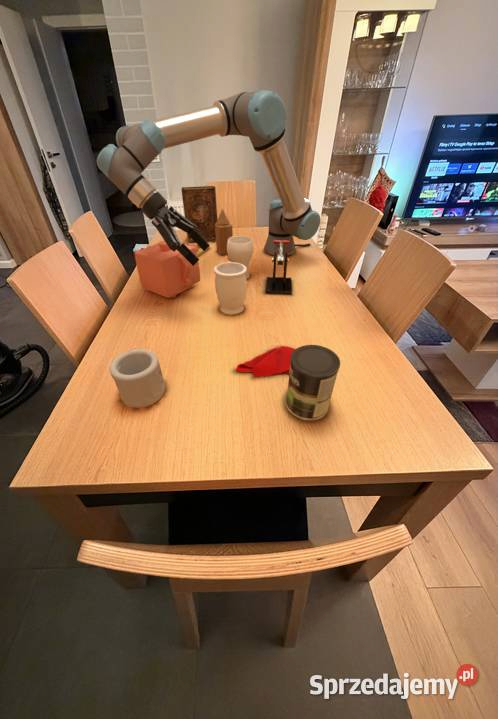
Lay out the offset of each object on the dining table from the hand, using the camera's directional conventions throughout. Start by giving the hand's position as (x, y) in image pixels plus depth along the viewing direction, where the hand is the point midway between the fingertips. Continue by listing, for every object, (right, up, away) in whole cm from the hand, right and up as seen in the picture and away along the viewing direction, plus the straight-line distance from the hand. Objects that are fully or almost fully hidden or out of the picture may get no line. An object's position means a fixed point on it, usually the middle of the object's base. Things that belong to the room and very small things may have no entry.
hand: (202, 255), depth 96 cm
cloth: (+25, -35, -12) cm, 44 cm away
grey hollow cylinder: (-12, -41, -20) cm, 47 cm away
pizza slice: (-13, +17, +48) cm, 53 cm away
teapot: (-13, -4, +24) cm, 28 cm away
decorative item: (+3, +19, +51) cm, 54 cm away
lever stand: (+27, -5, +22) cm, 35 cm away
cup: (+12, +2, +30) cm, 32 cm away
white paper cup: (+9, -16, +10) cm, 21 cm away
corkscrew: (+27, +7, +18) cm, 33 cm away
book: (-9, +30, +64) cm, 71 cm away
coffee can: (+29, -44, -24) cm, 58 cm away
